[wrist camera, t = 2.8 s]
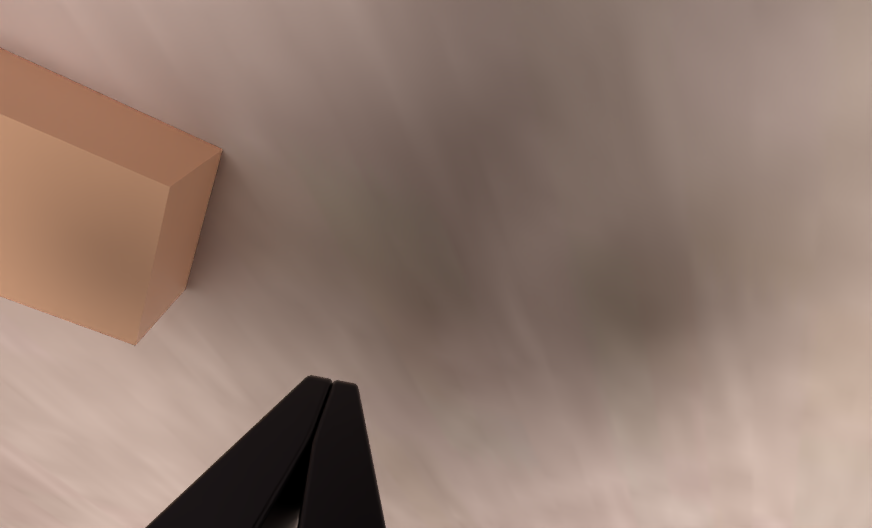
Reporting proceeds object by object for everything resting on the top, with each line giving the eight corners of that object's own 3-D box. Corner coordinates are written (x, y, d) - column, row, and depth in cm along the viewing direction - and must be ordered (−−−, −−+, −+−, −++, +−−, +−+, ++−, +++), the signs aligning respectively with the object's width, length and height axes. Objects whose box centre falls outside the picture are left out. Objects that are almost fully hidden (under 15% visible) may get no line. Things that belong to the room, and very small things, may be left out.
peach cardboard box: (227, 145, 13) (169, 187, 10) (189, 283, 15) (135, 345, 13) (-103, -6, 11) (-266, -1, 9) (-88, 173, 14) (-214, 218, 11)
